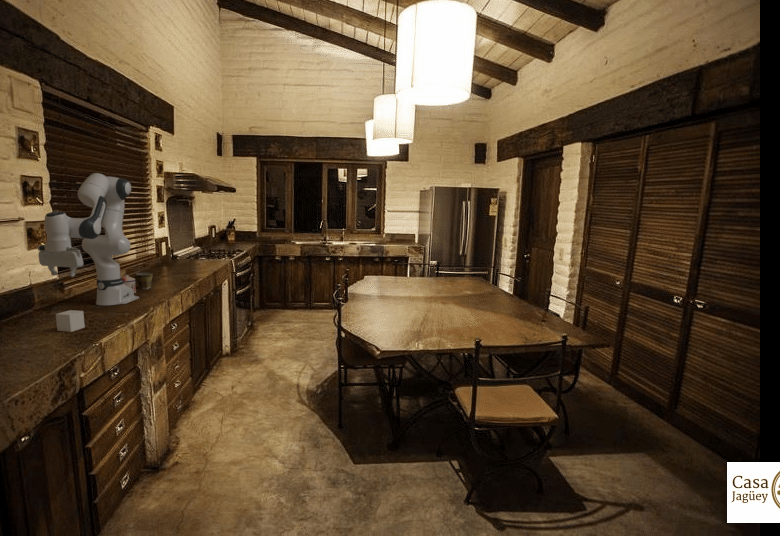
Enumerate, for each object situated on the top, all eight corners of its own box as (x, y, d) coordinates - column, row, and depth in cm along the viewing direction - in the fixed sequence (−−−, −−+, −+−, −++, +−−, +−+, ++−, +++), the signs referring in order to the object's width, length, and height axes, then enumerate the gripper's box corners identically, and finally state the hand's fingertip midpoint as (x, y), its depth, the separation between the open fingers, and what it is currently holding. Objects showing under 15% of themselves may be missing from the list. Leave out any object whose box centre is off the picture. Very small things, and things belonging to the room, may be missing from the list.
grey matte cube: (71, 326, 191) (70, 310, 190) (84, 327, 190) (83, 311, 189) (57, 330, 185) (55, 314, 183) (71, 331, 184) (69, 315, 182)
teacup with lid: (133, 294, 257) (131, 276, 255) (117, 295, 255) (115, 276, 254) (140, 290, 269) (139, 273, 267) (124, 291, 267) (123, 273, 265)
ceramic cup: (157, 287, 280) (156, 273, 278) (144, 290, 270) (143, 275, 269) (142, 286, 284) (141, 271, 282) (129, 288, 274) (128, 274, 273)
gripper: (85, 246, 194) (88, 275, 196) (47, 245, 196) (50, 273, 199) (73, 248, 188) (76, 278, 190) (34, 246, 190) (38, 276, 193)
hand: (63, 275), depth 195 cm, fingers open, 8 cm apart
